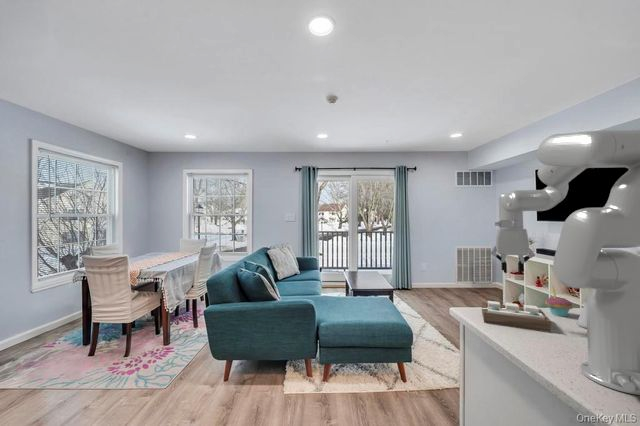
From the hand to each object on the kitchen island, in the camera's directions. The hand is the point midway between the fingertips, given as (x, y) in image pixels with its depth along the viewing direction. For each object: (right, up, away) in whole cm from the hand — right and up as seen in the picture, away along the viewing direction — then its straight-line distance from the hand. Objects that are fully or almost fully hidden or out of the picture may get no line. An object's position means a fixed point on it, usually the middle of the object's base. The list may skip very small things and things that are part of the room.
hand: (512, 272), depth 103 cm
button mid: (+2, -16, +3) cm, 17 cm away
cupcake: (+26, -20, +9) cm, 34 cm away
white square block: (-3, -16, +6) cm, 18 cm away
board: (+1, -19, +2) cm, 20 cm away
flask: (+25, -19, -4) cm, 32 cm away
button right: (+7, -16, +1) cm, 18 cm away
